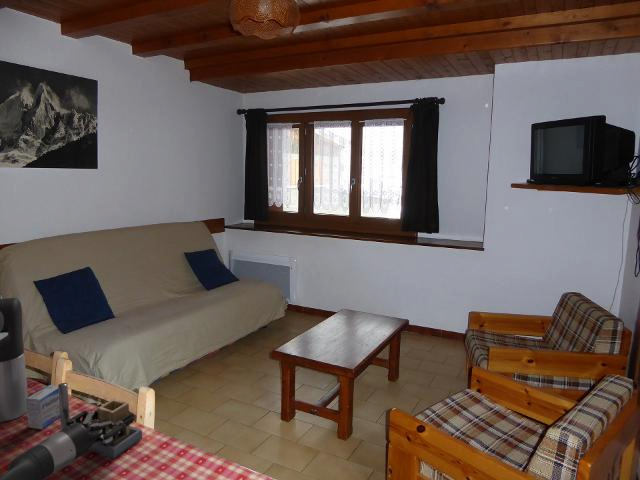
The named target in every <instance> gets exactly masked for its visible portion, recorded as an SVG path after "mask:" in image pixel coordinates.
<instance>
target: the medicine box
mask: <svg viewBox="0 0 640 480" xmlns="http://www.w3.org/2000/svg"><path fill="white" fill-rule="evenodd" d="M26 405H27V412H26V414H27V422H28V428H30V429H35V430H36V429H37V430H44V429H45V428H47V427H48V426H50V425H51V424H52V423H54V422H55V421H56V420H58V419H60V404H59V390H58V385H54V384H49V385H47V386H45V387H43V388H42V389H39V391H37V392H35V393H33V394H32V395H30V396H28V398H26Z"/></svg>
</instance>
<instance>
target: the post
mask: <svg viewBox="0 0 640 480" xmlns="http://www.w3.org/2000/svg"><path fill="white" fill-rule="evenodd" d="M68 385H69V384H68V383H67V382H61V383H59V384H57V386H58V390H59V404H60V417H59V419H60V428H61V429H63V428H65V427H66V421H68V420H69V419H71V417H70V403H69V388H68ZM61 429H60V430H61Z"/></svg>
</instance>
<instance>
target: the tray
mask: <svg viewBox="0 0 640 480" xmlns="http://www.w3.org/2000/svg"><path fill="white" fill-rule="evenodd" d="M141 440H143V430H142V429H141V428H137V427H133V426H131V425H130V436H129V437H128V438H126V439H125V440H123V441H122V442H120V443H119V444H118V445H116V446H115V447H113V446H110V445H109V446H104V443H102V442H100V441H99V442H96V443H94V444H93V445H92V446H91V448H90V449H89V451H93V452H95V453H98V454H100V455H103V456H106V457H109V458H111V459H113V460H115V459H116V458H118V457H119V456H120V455H122V454H123V453H125V452H127V450H129V449H131V448H132V447H133V446H134V445H136V444H137V443H138V442H140V441H141Z"/></svg>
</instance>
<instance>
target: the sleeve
mask: <svg viewBox="0 0 640 480" xmlns="http://www.w3.org/2000/svg"><path fill="white" fill-rule="evenodd" d="M129 405H130V403H129V402H126V401H123V400H120V399H116V398H112V399H111V400H109V401H107V402H105V403H104V404H102V405H100V406H99V407H97V410H98V421H99V422H108V421H112V422H116V421H120V420H121V419H122V418H124V417H125V416H127V415H129V414H130V406H129ZM130 426H131V424H130V425H128V426H127V427H126V435H125V436H123V437H121V438H120V439H118V440H117V441H115V442H113V443H112V444H110V446H113V447H115V446H116V445H118V444H119V443H120V442H122V441H123V440H125V439H126V438H128V437H129V436H130ZM116 427H117V426H113V427H112V429H115V428H116ZM108 431H109V427H108V426H106V431H105V433H106V432H108ZM119 433H120V432H119ZM100 442H102V441H100ZM102 443H104V442H102Z"/></svg>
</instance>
